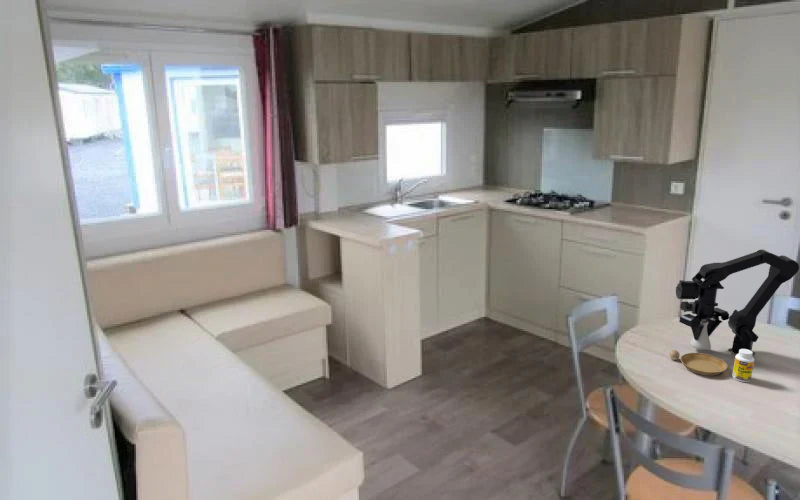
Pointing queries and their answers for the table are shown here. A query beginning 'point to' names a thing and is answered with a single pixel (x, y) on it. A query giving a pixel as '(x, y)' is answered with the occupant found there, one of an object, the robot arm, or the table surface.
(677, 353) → the beige ball
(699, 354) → the plant saucer
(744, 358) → the supplement bottle
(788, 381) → the table surface
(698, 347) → the flask
